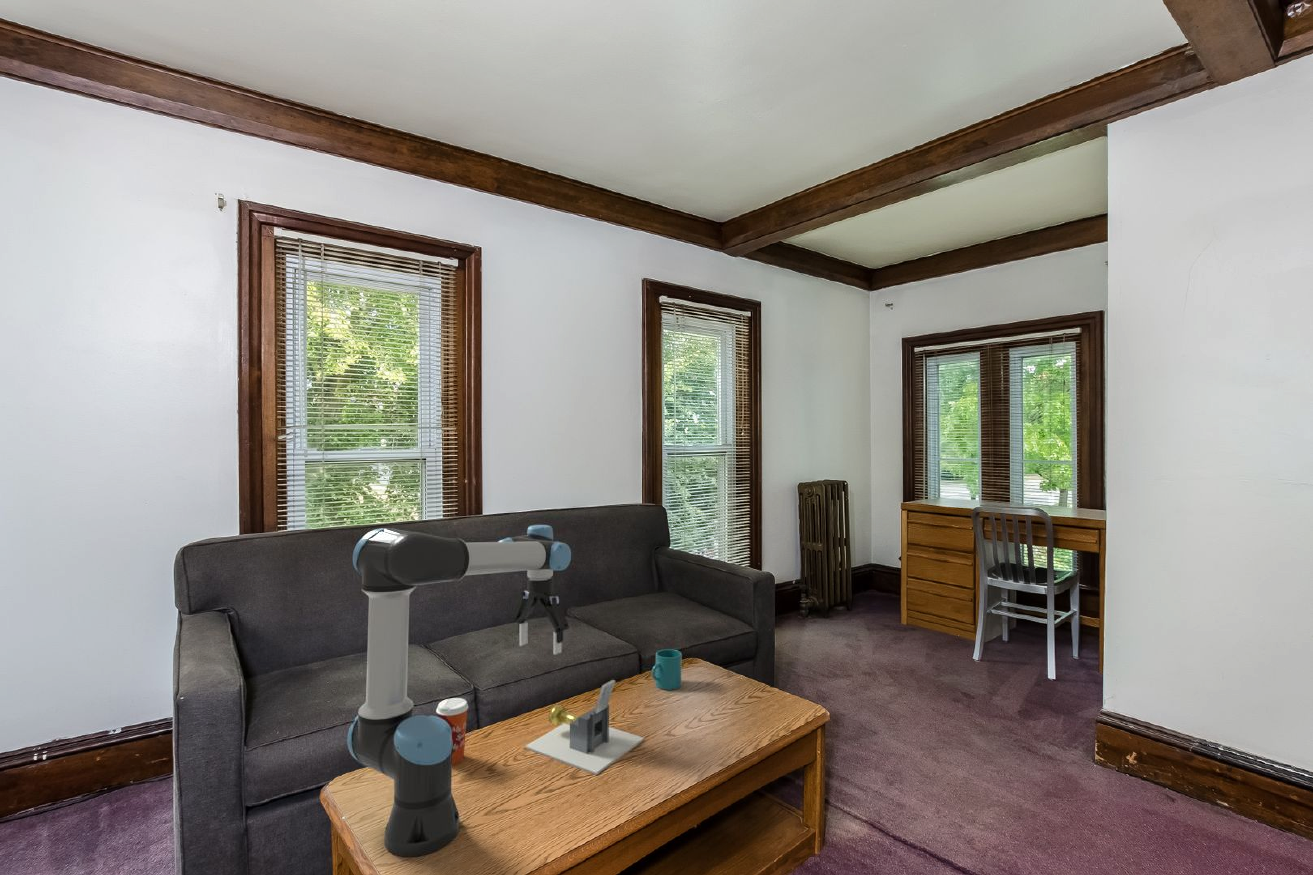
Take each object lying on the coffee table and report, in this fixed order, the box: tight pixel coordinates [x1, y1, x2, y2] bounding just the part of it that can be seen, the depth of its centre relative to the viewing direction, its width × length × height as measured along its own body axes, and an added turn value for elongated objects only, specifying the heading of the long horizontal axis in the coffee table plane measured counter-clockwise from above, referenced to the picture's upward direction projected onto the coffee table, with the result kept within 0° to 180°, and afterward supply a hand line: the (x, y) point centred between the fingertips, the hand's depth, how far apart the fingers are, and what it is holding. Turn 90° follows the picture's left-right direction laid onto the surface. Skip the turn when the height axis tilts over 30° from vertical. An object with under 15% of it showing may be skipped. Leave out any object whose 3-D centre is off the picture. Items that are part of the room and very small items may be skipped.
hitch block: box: [570, 704, 610, 754], centre depth 171 cm, size 7×10×10 cm
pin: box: [548, 704, 581, 726], centre depth 175 cm, size 13×5×5 cm, turn 58°
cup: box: [651, 648, 683, 691], centre depth 213 cm, size 9×12×11 cm
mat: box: [524, 723, 645, 776], centre depth 172 cm, size 22×25×1 cm
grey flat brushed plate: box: [594, 679, 616, 714], centre depth 169 cm, size 1×5×8 cm, turn 147°
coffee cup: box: [435, 697, 469, 766], centre depth 164 cm, size 8×8×15 cm
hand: (540, 648), depth 182 cm, fingers open, 13 cm apart
